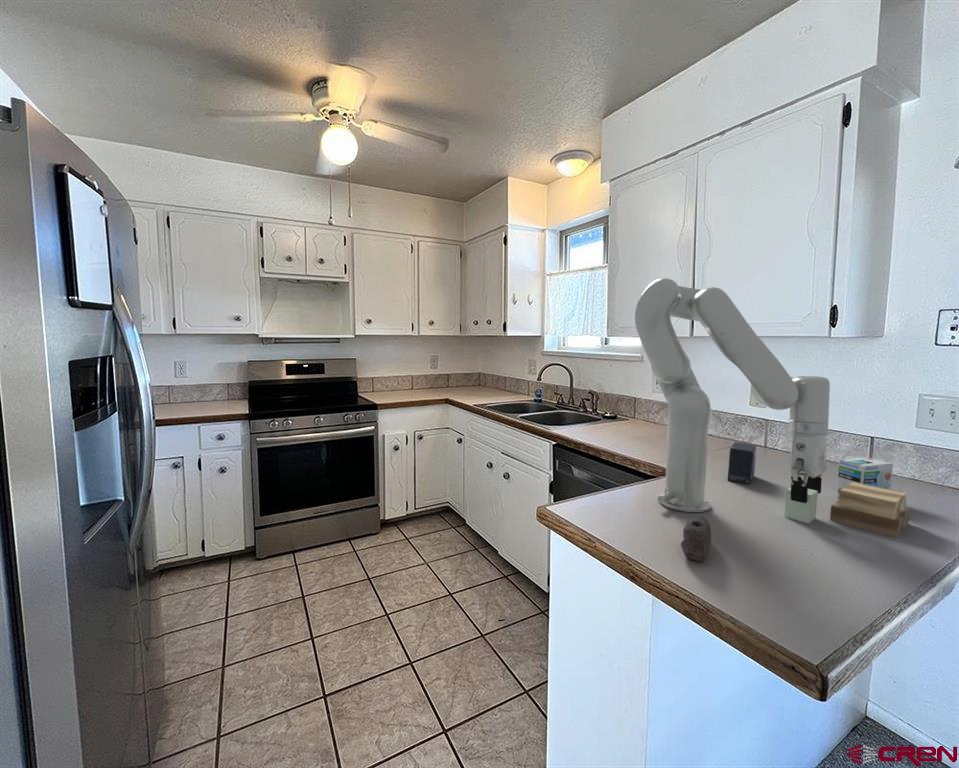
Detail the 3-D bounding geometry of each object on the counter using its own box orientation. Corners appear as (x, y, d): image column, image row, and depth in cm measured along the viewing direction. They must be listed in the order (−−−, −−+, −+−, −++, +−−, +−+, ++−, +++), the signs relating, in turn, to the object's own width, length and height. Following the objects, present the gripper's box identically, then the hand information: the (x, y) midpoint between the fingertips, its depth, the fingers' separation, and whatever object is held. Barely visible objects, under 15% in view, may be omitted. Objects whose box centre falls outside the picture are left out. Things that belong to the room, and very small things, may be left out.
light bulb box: (861, 505, 116) (865, 466, 115) (834, 497, 123) (838, 459, 122) (890, 501, 119) (894, 462, 118) (863, 493, 126) (866, 456, 125)
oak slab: (893, 519, 99) (895, 502, 98) (838, 506, 107) (839, 490, 107) (904, 509, 105) (906, 493, 104) (851, 497, 113) (853, 482, 112)
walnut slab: (896, 539, 98) (898, 522, 98) (829, 521, 107) (831, 505, 107) (907, 525, 105) (909, 509, 105) (844, 510, 115) (845, 495, 114)
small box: (751, 485, 133) (753, 451, 132) (726, 480, 137) (728, 447, 136) (755, 476, 141) (757, 444, 140) (732, 472, 145) (733, 441, 144)
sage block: (808, 523, 105) (810, 495, 105) (784, 516, 109) (786, 489, 109) (815, 518, 108) (817, 490, 108) (791, 512, 112) (793, 485, 112)
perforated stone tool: (688, 534, 100) (690, 504, 99) (714, 540, 97) (716, 509, 96) (677, 562, 87) (678, 529, 87) (706, 570, 85) (708, 535, 84)
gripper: (815, 435, 98) (812, 510, 100) (838, 424, 109) (836, 492, 110) (776, 430, 104) (774, 501, 106) (802, 420, 115) (800, 485, 116)
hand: (806, 496), depth 108 cm, fingers open, 9 cm apart
